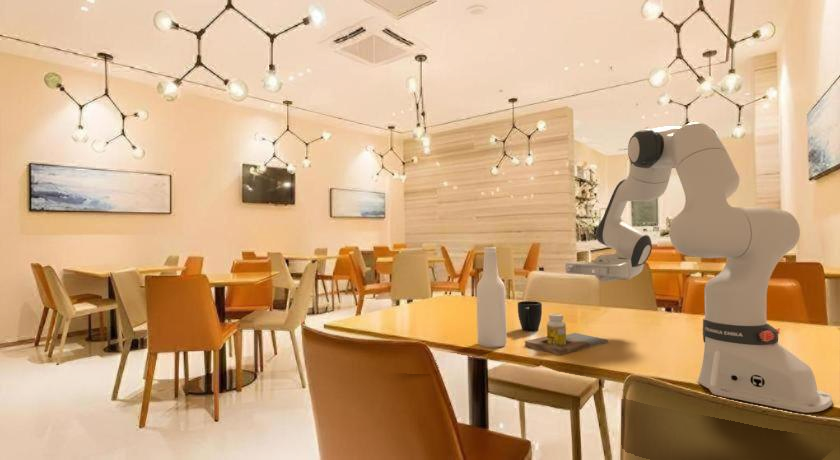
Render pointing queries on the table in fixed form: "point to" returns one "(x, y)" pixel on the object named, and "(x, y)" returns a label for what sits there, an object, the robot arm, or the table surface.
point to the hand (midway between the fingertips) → (580, 270)
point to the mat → (587, 339)
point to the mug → (530, 315)
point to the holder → (560, 350)
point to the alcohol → (491, 304)
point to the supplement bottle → (556, 330)
